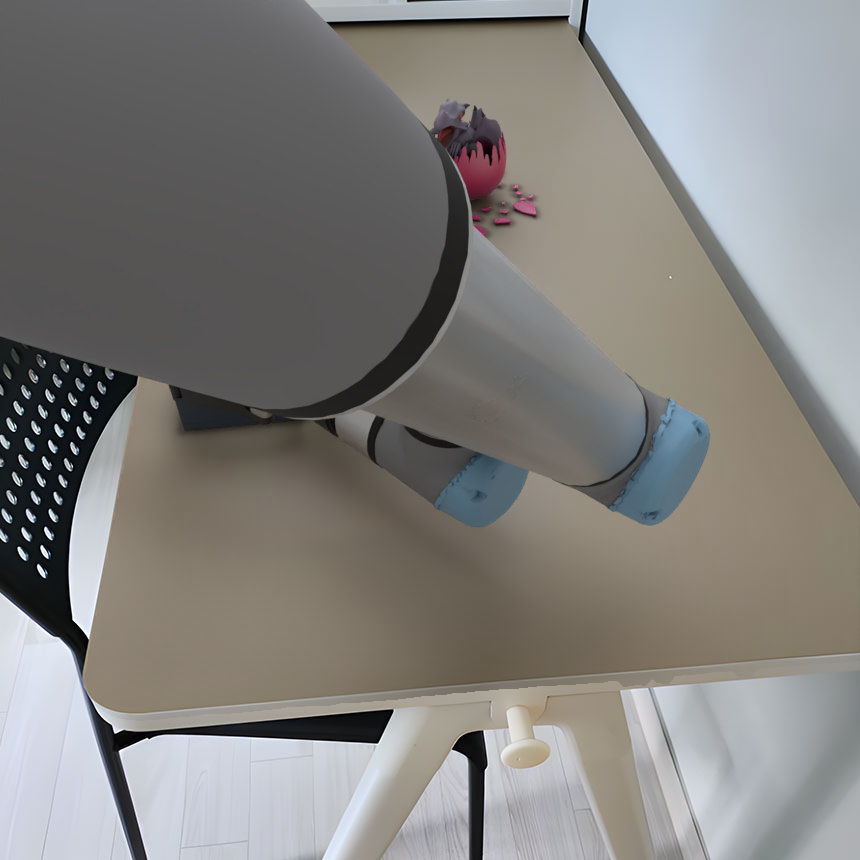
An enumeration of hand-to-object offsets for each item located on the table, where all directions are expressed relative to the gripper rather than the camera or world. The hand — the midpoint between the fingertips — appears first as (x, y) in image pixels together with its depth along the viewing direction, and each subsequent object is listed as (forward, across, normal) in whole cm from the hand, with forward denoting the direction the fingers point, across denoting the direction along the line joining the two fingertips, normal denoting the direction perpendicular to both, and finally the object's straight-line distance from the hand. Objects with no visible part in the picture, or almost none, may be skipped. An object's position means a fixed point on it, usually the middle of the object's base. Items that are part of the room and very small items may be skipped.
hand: (211, 303), depth 81 cm
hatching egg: (+5, +43, -8) cm, 44 cm away
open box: (-3, 0, -8) cm, 9 cm away
